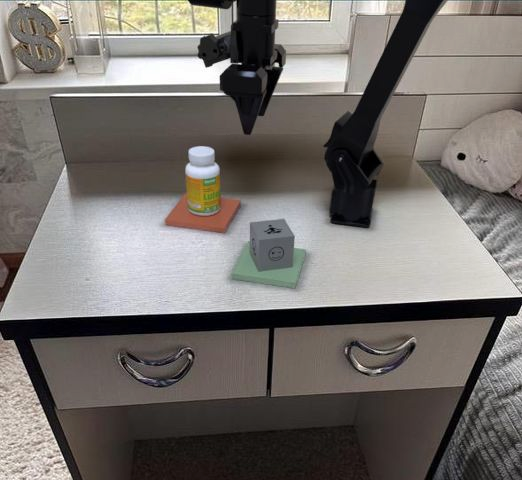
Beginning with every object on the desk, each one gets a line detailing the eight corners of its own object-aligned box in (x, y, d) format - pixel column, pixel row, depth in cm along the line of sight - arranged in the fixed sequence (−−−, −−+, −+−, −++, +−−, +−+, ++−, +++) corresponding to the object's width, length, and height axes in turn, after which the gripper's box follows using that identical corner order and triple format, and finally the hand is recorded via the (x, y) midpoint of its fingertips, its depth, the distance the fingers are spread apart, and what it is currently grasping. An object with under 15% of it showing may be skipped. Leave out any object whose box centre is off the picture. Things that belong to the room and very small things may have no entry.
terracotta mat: (240, 205, 90) (240, 200, 89) (224, 233, 83) (224, 227, 82) (185, 198, 92) (185, 192, 91) (165, 225, 84) (164, 219, 84)
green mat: (305, 255, 79) (306, 249, 78) (295, 288, 72) (295, 282, 71) (247, 246, 80) (247, 241, 79) (232, 278, 73) (231, 272, 73)
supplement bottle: (205, 220, 84) (202, 160, 77) (181, 210, 86) (176, 151, 80) (227, 208, 87) (226, 150, 80) (203, 199, 89) (200, 141, 83)
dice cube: (258, 271, 73) (259, 240, 70) (249, 253, 77) (249, 222, 73) (292, 267, 74) (294, 235, 71) (282, 249, 78) (283, 218, 74)
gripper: (220, -1, 83) (222, 102, 94) (181, 20, 70) (188, 139, 80) (289, 4, 82) (283, 109, 92) (262, 27, 68) (259, 147, 78)
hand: (254, 124), depth 86 cm, fingers open, 9 cm apart
